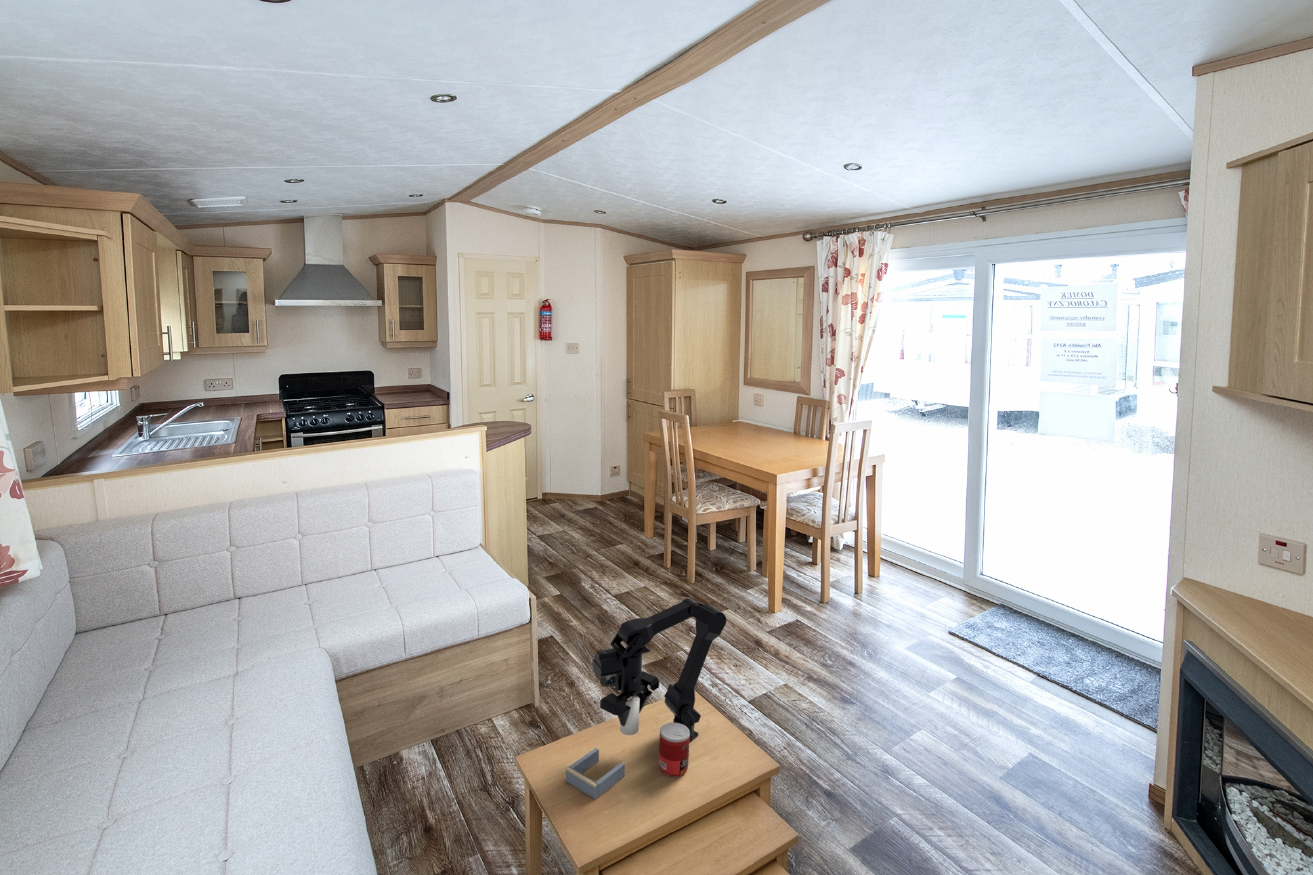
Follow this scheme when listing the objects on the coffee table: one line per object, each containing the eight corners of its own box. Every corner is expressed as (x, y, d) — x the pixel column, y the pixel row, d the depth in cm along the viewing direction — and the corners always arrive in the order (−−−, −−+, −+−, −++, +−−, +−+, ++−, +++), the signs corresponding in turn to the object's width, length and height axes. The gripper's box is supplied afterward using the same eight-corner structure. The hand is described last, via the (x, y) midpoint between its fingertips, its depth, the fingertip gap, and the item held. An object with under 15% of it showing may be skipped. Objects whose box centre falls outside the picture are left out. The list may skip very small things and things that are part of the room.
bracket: (595, 759, 184) (595, 745, 183) (624, 776, 178) (624, 762, 177) (564, 781, 175) (565, 767, 174) (594, 799, 169) (594, 785, 168)
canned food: (685, 779, 177) (687, 742, 175) (655, 774, 179) (657, 737, 177) (690, 761, 185) (691, 724, 182) (661, 756, 186) (662, 720, 184)
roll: (628, 721, 189) (629, 691, 187) (642, 728, 186) (643, 698, 184) (615, 729, 185) (616, 699, 183) (630, 737, 182) (631, 706, 180)
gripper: (630, 646, 194) (629, 695, 197) (585, 671, 180) (584, 724, 183) (661, 659, 188) (659, 710, 191) (617, 686, 173) (615, 741, 176)
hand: (629, 720), depth 185 cm, fingers closed on roll, 5 cm apart
